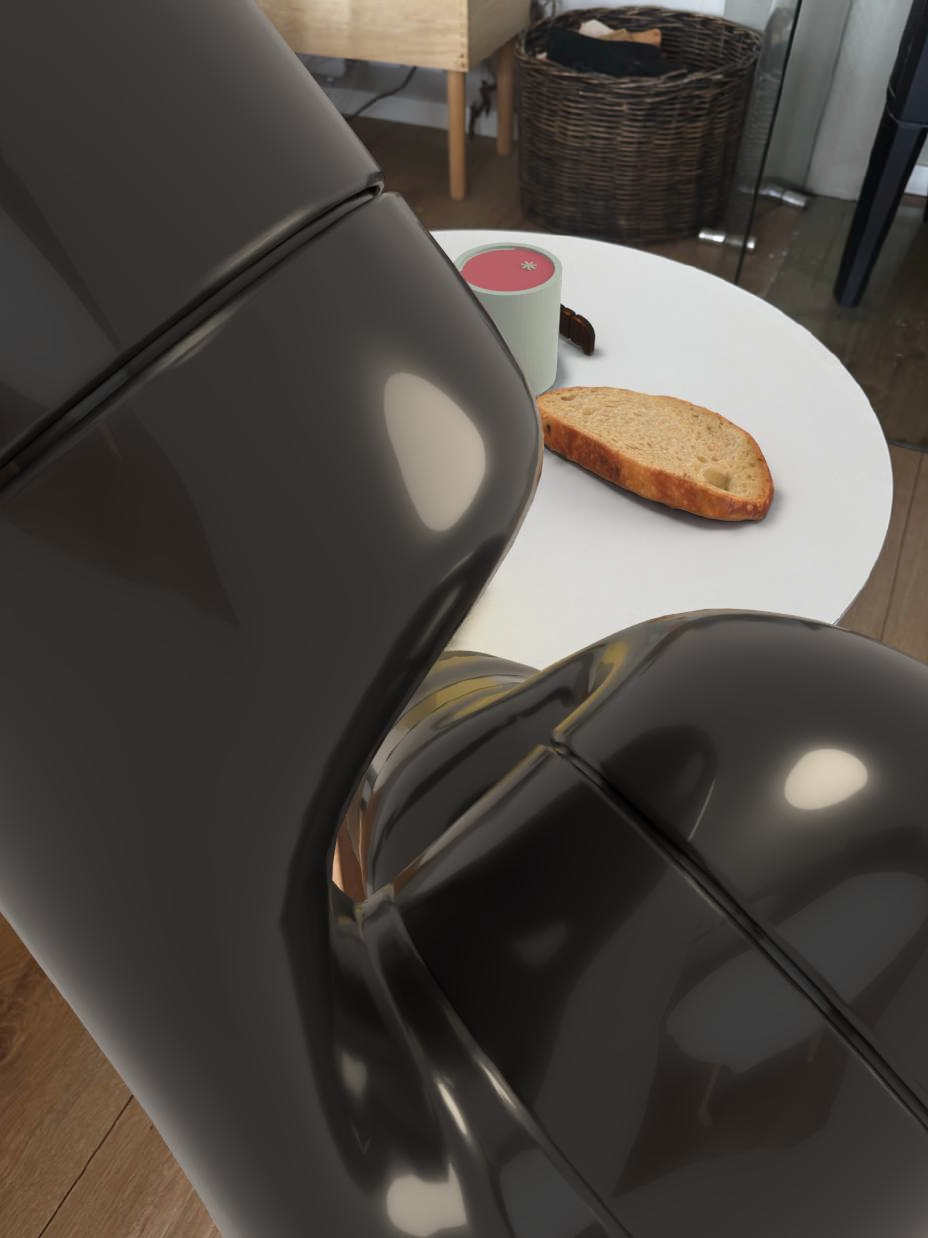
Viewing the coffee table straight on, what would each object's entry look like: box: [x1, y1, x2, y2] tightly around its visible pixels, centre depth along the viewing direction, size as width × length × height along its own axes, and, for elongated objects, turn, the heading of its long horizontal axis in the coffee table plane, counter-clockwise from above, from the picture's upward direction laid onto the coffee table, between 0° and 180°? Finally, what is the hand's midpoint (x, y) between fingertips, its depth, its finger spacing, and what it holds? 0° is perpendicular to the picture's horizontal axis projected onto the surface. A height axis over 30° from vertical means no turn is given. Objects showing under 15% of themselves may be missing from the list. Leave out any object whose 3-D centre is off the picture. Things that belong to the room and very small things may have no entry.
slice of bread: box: [536, 385, 775, 522], centre depth 79 cm, size 18×18×4 cm
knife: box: [559, 302, 596, 356], centre depth 95 cm, size 17×1×3 cm, turn 36°
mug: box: [453, 241, 563, 398], centre depth 86 cm, size 14×9×10 cm
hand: (424, 720), depth 46 cm, fingers closed
